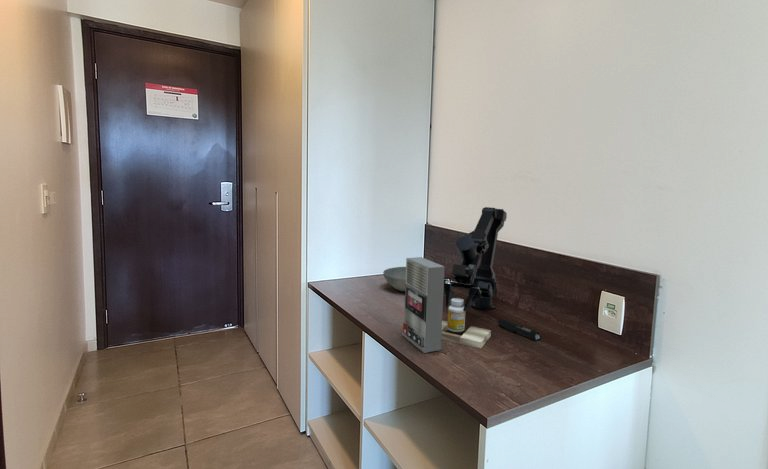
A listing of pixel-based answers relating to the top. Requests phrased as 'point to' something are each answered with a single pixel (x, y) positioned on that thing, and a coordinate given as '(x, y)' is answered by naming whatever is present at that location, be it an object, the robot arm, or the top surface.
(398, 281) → the bowl
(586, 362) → the top surface
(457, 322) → the supplement bottle
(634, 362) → the top surface
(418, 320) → the cassette tape recorder
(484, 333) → the notched board
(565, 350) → the top surface
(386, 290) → the top surface
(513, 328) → the electric trimmer
